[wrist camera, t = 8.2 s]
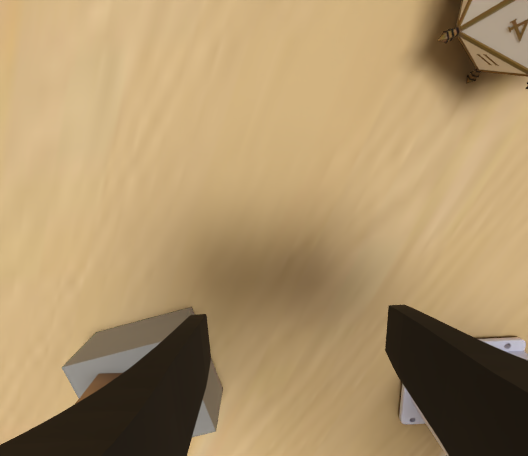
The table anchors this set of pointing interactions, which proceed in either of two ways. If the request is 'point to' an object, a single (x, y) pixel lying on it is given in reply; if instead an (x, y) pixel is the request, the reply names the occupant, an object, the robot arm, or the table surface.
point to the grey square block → (131, 351)
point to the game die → (493, 36)
